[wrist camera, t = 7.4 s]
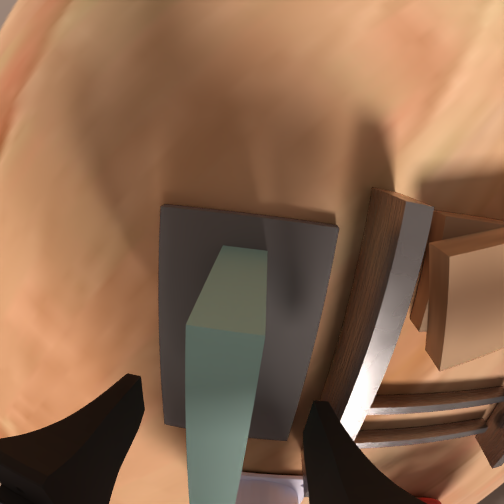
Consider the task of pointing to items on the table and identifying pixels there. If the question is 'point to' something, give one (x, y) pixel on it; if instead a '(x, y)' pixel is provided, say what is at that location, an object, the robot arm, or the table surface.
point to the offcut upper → (465, 298)
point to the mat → (277, 302)
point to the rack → (395, 339)
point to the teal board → (223, 372)
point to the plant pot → (430, 500)
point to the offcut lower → (441, 229)
